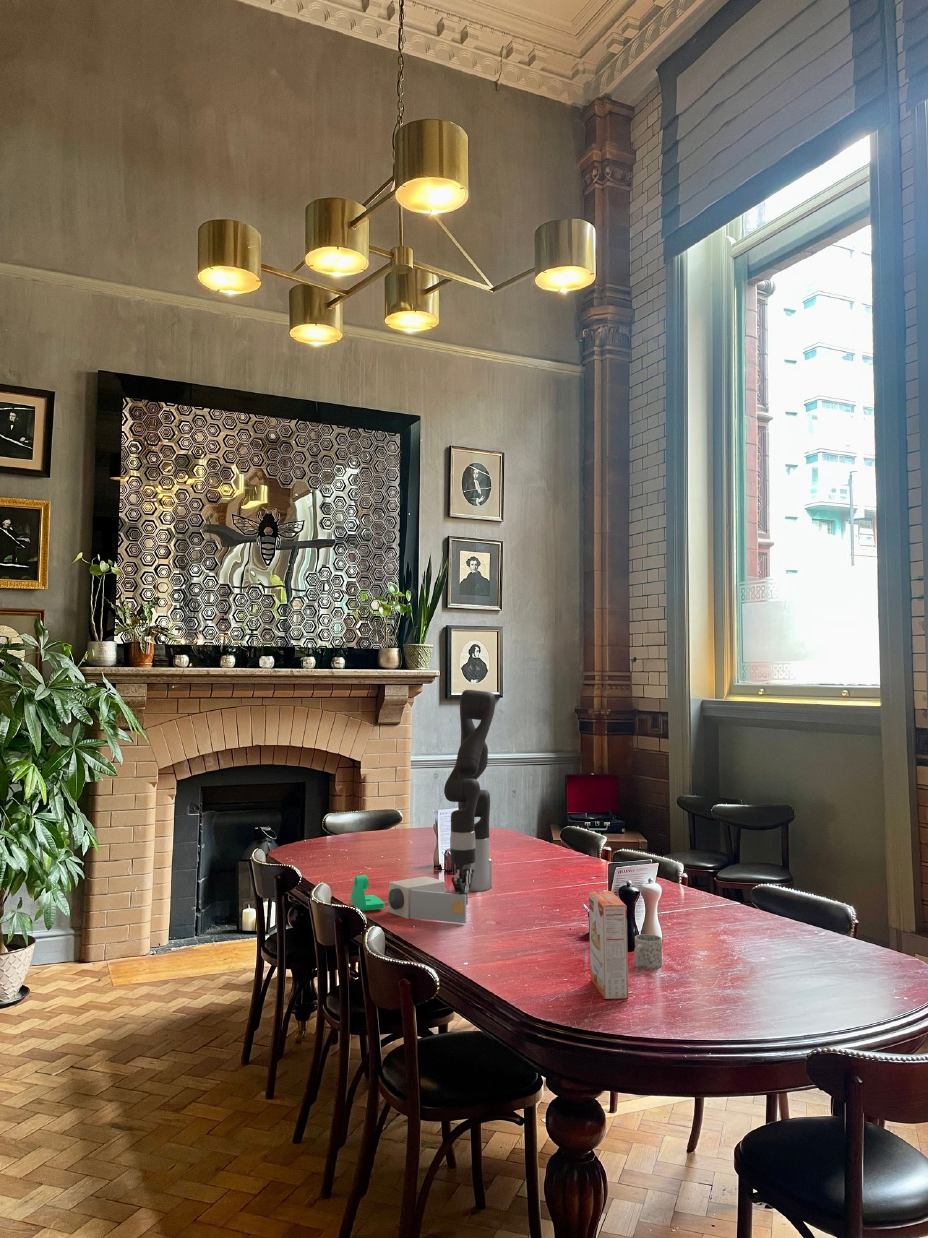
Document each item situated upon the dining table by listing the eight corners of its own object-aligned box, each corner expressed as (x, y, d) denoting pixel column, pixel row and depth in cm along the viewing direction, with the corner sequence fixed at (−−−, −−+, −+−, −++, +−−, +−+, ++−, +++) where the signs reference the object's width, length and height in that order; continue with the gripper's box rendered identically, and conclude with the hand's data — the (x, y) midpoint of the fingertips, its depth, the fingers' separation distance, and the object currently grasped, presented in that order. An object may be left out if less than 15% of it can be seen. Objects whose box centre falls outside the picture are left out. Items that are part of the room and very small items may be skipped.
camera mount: (385, 912, 283) (385, 878, 283) (361, 914, 280) (361, 880, 280) (374, 903, 294) (374, 870, 294) (350, 905, 291) (351, 872, 291)
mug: (643, 959, 235) (642, 932, 235) (666, 964, 230) (666, 937, 231) (623, 969, 227) (623, 941, 227) (647, 974, 223) (647, 946, 223)
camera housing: (425, 905, 290) (425, 876, 291) (445, 911, 283) (445, 881, 283) (384, 913, 281) (385, 883, 281) (403, 919, 273) (403, 888, 273)
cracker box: (588, 980, 218) (587, 890, 219) (613, 979, 219) (612, 890, 220) (602, 1001, 204) (601, 905, 206) (629, 1000, 205) (628, 904, 206)
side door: (466, 922, 268) (466, 894, 268) (464, 924, 266) (464, 896, 266) (410, 917, 274) (410, 889, 275) (407, 918, 272) (407, 890, 273)
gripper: (466, 851, 264) (467, 912, 264) (482, 842, 277) (482, 900, 276) (442, 850, 267) (443, 910, 266) (459, 841, 279) (459, 898, 279)
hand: (463, 905), depth 271 cm, fingers closed
